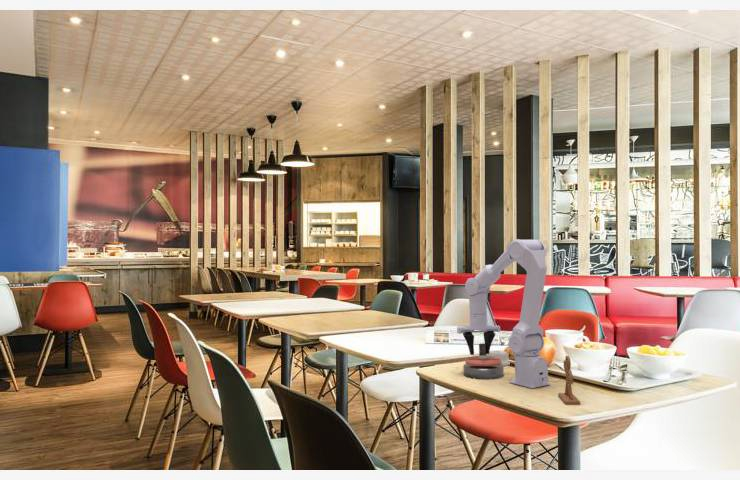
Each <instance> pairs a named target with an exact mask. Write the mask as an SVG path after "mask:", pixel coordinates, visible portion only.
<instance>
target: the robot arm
mask: <svg viewBox="0 0 740 480" xmlns="http://www.w3.org/2000/svg"><path fill="white" fill-rule="evenodd" d="M546 254H547V247H546V246H545V244H544V243H543V242H542V240H540V239H538V238H536V239H535V238H534V239H518V238H515V239H513V240H512V241H511V242H510V243H509V244H507V246H506V250H505V251H504V252H503V253H502V254H501V255H500V256H499V257H498V259H496V261H494V263H493V264H485V265H484V266H483V269H482V270H481V271H480V272H479V273H477V274H476V275H475V276H474V277H469V278H467V280H466V281H465V285H464V288H465V293H466V294H467V295H468V300H469V303H468V305H469V326H459V327H456V331H457V334H458V335H460V334H462V335H463V337H464V339H465V342H466V344H467V347H468V351H469V355H471V356H475V349H474V342H475V335H474V334H473V333H475V334H476V333H483V338H484V340H483V341H484V344H486V353H487V354H489V351H491V346H492V344H493V343H492V342H493V340H494V338H495V336H496V333H500V332H501V325H488V311H487V310H488V308H487V300H488V297H489V296H488V295H489V293H490V289H491V287H492V286H493V285H494V283H496V282H497V281H498V280H499V279H500V278H501V275H502V274H501V273H502V272H504V270H506V269H507V268H508V267H509V266H511V265H512V264H513V263H514V262H516V263H517V264H518V265H520V266H521V267H522V268H523V269H524V270H525V271H526V277H525V283H524V288H523V289H524V290H523V296H522V297H523V298H522V303H521V309H520V310H521V311H520V316H519V322H518V323H516V325H514V327H513V328H512V332H511V334H510V336H509V338H508V347H509V349H510V351H511V352H512V355H514V376H515V377H514V379H512V380H509V381H508V382H509V383H511V384H513V385H517V386H521V387H526V388H531V389H535V388H540V387H546V386H550V385H551V383H550V382H549V365H548V362H547V359H546V358H545V357H542V356H540V354H541V351H542V350H543V348H544V346H545V339H544V329H543V327H541V326H540V325H539V321H540V315H541V310H542V301H543V296H544V289H545V284H546V279H547V278H546V276H547V267H548V266H547V262H546V261H547V260H546ZM495 332H496V333H495Z"/></svg>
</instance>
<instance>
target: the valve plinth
mask: <svg viewBox="0 0 740 480" xmlns="http://www.w3.org/2000/svg"><path fill="white" fill-rule="evenodd" d="M462 368H463V376H464V377H466V378H469V377H470V378H469V379H474V378H475V379H474V380H495V379H501V378H503V377H504V376H505V373H504V372H505V367H504V366H503V365H501V364H500V365H496V366H474V365H469V364H466V363H464V364H463V367H462Z"/></svg>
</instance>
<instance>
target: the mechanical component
mask: <svg viewBox="0 0 740 480" xmlns="http://www.w3.org/2000/svg"><path fill="white" fill-rule="evenodd" d="M507 352H508V351H506V352H505V350H490V351H489V354H487V356H488V357H495V358H499V359H501V365H503V366H505V367H507V366H510V362H508V360H509V359H510V358H509V357H510V356H509V352H508V353H507Z"/></svg>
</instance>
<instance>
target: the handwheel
mask: <svg viewBox="0 0 740 480" xmlns="http://www.w3.org/2000/svg"><path fill="white" fill-rule="evenodd" d="M464 361H465V363H464V364H469V365H474V366H496V365H500V364H501V359H499V358H495V357H488V356H487V353H486V344H485V343H478V356H470V357H466V358H465V360H464Z"/></svg>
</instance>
